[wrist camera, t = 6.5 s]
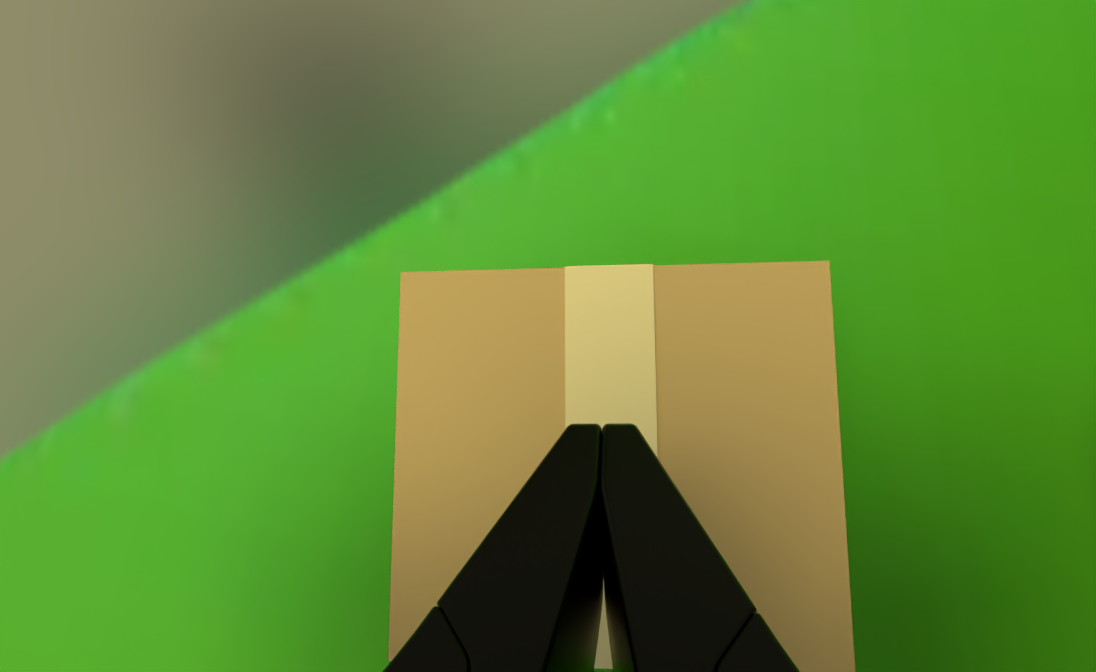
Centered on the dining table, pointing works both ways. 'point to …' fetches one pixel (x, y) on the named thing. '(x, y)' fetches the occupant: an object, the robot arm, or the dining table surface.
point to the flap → (630, 421)
